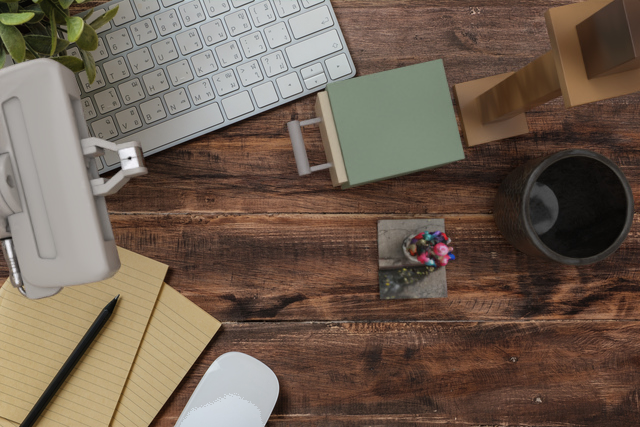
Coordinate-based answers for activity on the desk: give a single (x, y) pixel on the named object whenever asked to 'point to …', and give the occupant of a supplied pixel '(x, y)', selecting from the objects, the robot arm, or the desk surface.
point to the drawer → (328, 139)
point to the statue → (413, 258)
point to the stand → (538, 82)
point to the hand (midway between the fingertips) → (142, 157)
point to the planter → (565, 207)
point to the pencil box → (611, 39)
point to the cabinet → (395, 122)
